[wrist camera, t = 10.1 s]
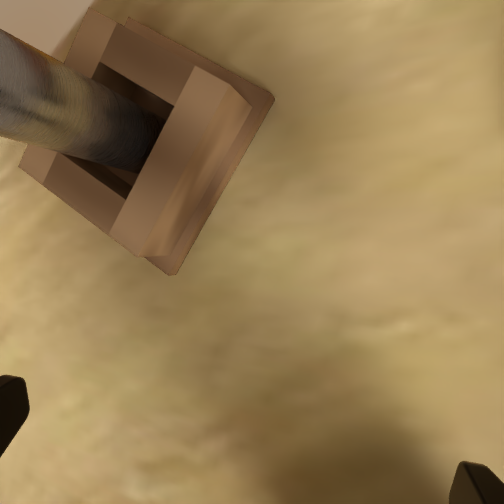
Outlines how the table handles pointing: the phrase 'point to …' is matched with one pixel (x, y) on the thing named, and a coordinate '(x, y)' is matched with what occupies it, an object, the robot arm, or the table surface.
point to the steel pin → (70, 110)
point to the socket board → (166, 147)
